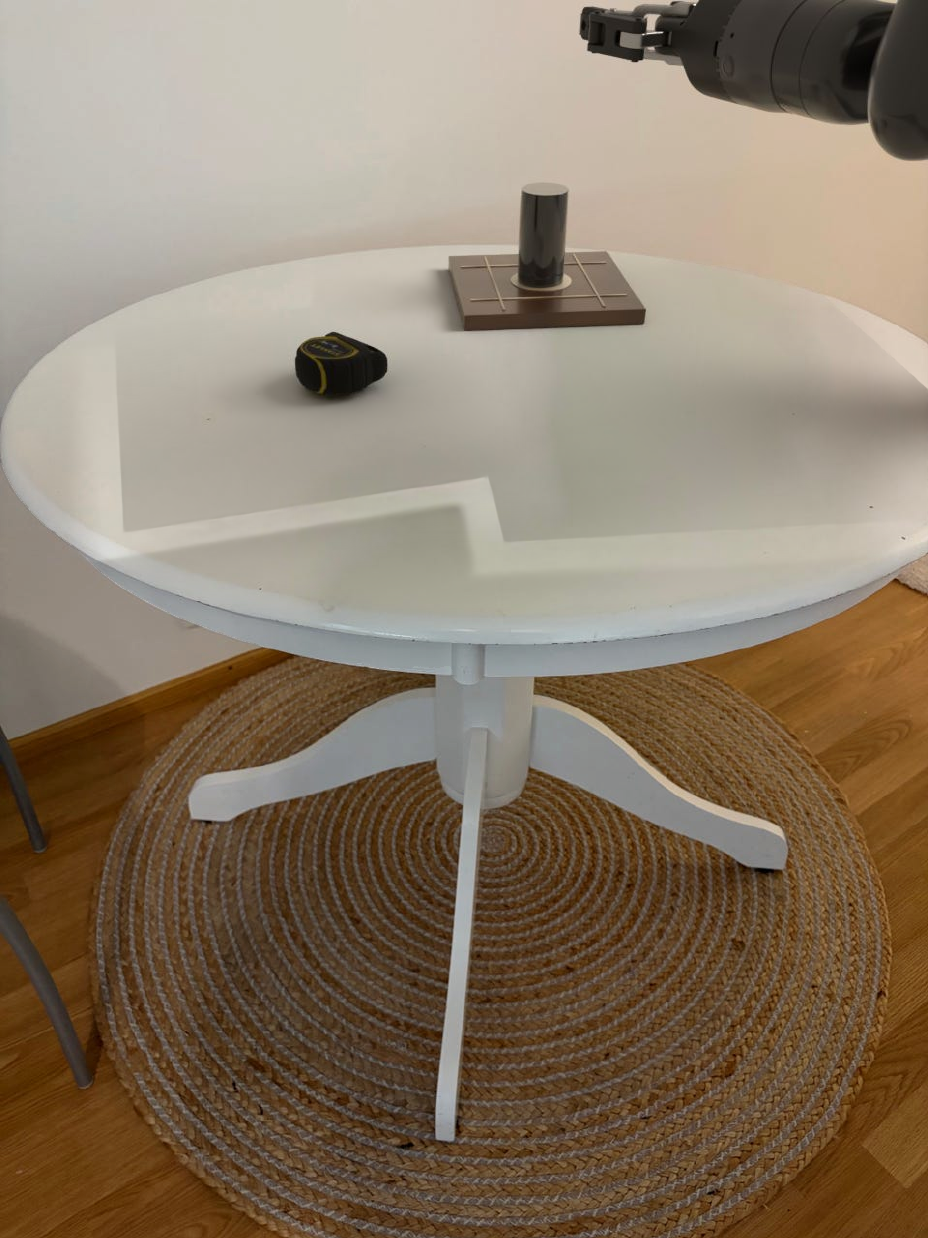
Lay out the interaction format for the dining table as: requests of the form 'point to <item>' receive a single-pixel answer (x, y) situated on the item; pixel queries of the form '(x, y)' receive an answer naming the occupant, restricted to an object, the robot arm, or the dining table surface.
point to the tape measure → (338, 364)
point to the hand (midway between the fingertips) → (628, 18)
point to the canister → (542, 234)
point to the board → (543, 294)
